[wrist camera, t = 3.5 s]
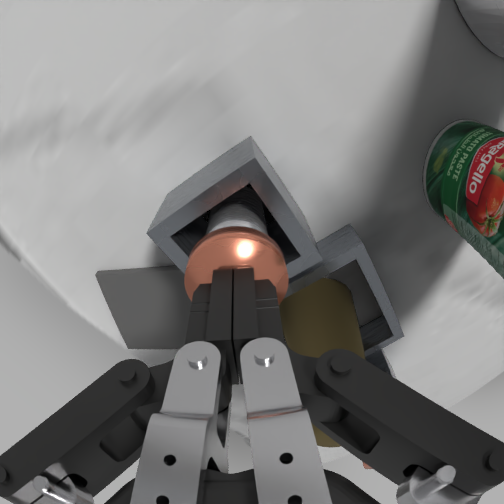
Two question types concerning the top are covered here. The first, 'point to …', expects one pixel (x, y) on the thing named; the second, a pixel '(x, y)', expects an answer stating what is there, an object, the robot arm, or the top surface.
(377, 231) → the top surface
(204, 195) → the housing
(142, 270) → the pad
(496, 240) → the canned tomato
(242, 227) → the plunger
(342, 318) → the cork
